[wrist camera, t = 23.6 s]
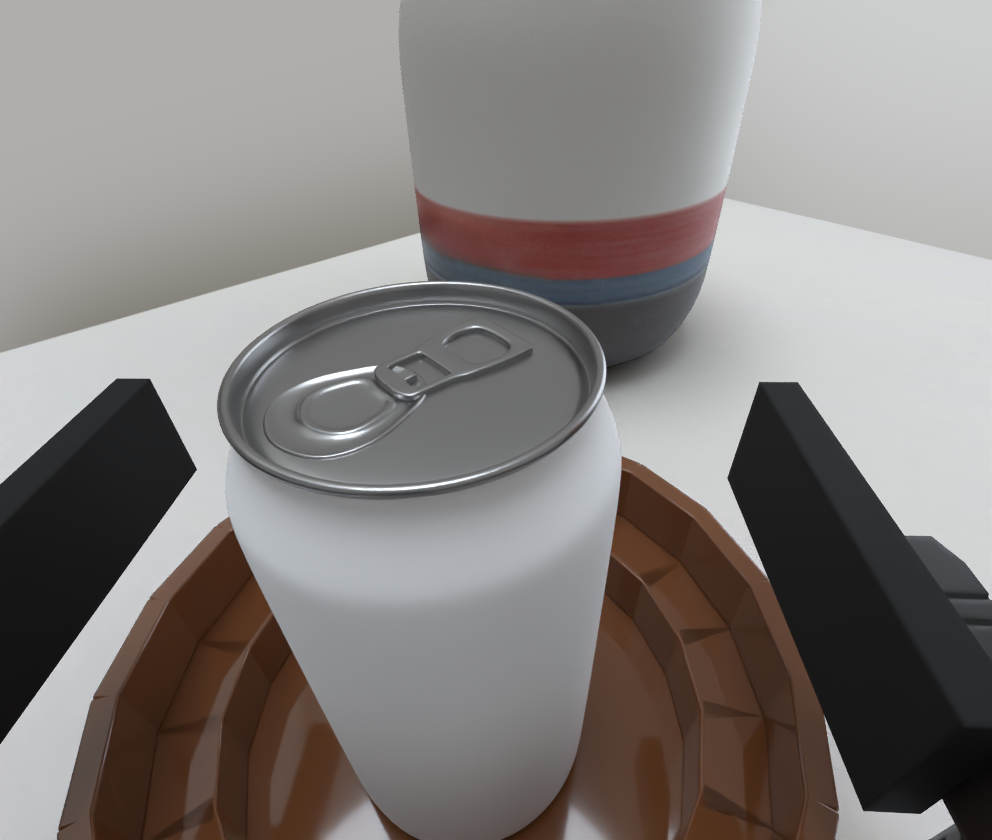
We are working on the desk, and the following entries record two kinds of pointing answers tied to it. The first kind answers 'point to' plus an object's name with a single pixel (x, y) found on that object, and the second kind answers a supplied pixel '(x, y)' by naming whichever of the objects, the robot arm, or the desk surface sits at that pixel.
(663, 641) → the bowl
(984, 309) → the desk surface
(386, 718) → the can
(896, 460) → the desk surface
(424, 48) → the vase
